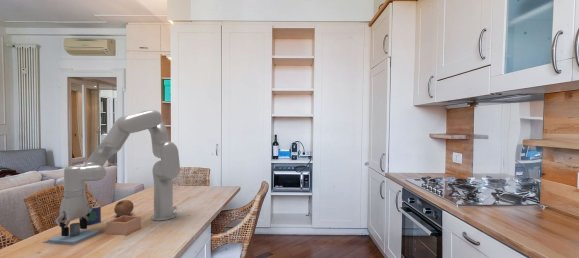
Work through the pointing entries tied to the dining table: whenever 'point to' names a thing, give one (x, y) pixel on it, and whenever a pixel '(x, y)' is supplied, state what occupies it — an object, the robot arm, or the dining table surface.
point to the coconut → (123, 208)
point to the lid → (74, 235)
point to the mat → (74, 243)
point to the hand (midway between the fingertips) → (74, 232)
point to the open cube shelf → (124, 225)
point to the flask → (94, 215)
